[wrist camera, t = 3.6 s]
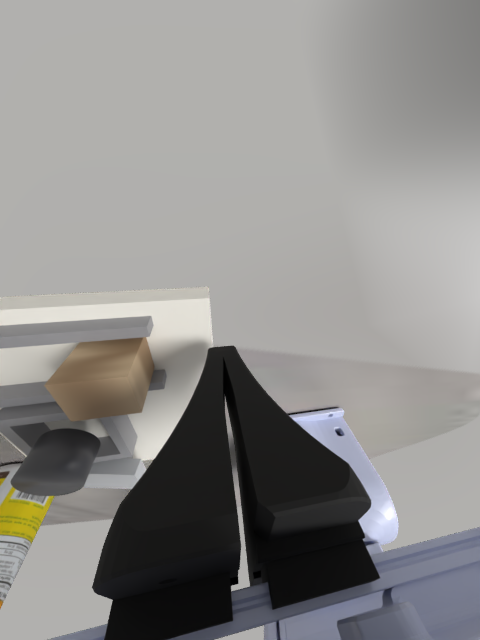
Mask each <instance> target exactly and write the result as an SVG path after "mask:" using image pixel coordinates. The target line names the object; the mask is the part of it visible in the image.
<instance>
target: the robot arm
mask: <svg viewBox="0 0 480 640" xmlns="http://www.w3.org/2000/svg"><path fill="white" fill-rule="evenodd" d="M225 397H226V402H227V407H228V412H229V417H230V422H231V427H232V432H233V438H234V444H235V452H236V461H237V470H238V479H239V487H240V497H241V506H242V514H243V524H244V534H245V542H246V543H245V544H246V553H247V563H248V572H249V581H250V587H247V588H243V589H240V590H236V591H232V592H231V585H235V584H238V570H239V567H240V552H241V542H240V533H239V524H238V515H237V506H236V499H235V491H234V483H233V475H232V467H231V459H230V451H229V443H228V435H227V426H226V417H225ZM343 415H344V411H343V409H342V408H336V409H329V410H322V411H315V412H308V413H301V414H294V415H288V414H287V413H285V412H284V411H283V410H282V409H281V408H280V407H279V406H278V405H277V404H276V402H275V401H274V400H273V399H272V398H271V397H270V396H269V395H268V394H267V393H266V391H265V390H264V389H263V388H262V387H261V385H260V384H259V383H258V382H257V380H256V379H255V378H254V377H253V375H252V374H251V372H250V371H249V369H248V368H247V367H246V365H245V364H244V362H243V360H242V359H241V357H240V355H239V354H238V352H237V350H236V347H234V346H224V347H213V348H209V349H208V352H207V358H206V362H205V365H204V368H203V371H202V374H201V377H200V379H199V382H198V384H197V386H196V389H195V391H194V393H193V396H192V398H191V400H190V402H189V404H188V406H187V408H186V409H185V411H184V413H183V415H182V417H181V418H180V420H179V422H178V424H177V425H176V427H175V429H174V430H173V432H172V433H171V435H170V437H169V438H168V440H167V441H166V443H165V444H164V446H163V447H162V449H161V450H160V451H159V453H158V454H157V456H156V457H155V459H154V460H153V462H152V463H151V465H150V466H149V467H148V469H147V470H146V471H145V473H144V474H143V475H142V477H141V478H140V479H139V480H138V482H137V483H136V484H135V486H134V487H133V488H132V490H131V491H130V492H129V493H128V495H127V496H126V497H125V499H124V500H123V501H122V503H121V504H120V506H119V508H118V510H117V512H116V515H115V517H114V519H113V522H112V524H111V527H110V529H109V532H108V535H107V537H106V540H105V543H104V546H103V549H102V553H101V557H100V560H99V564H98V568H97V572H96V575H95V579H94V583H93V586H92V588H93V590H94V592H95V593H97V594H98V595H101V596H104V597H107V598H110V599H112V600H113V602H112V606H111V611H110V615H109V620H108V624H105V625H101V626H98V627H94V628H90V629H86V630H82V631H78V632H74V633H71V634H67V635H63V636H59V637H55V638H51V639H48V640H214V639H218V638H221V637H225V636H228V635H232V634H235V633H239V632H242V631H245V630H249V629H252V628H256V627H259V626H262V625H264V640H480V527H477V528H474V529H470V530H466V531H462V532H458V533H454V534H451V535H447V536H443V537H440V538H435V539H431V540H428V541H424V542H420V543H416V544H412V545H408V546H405V547H401V548H397V549H393V550H389V551H385V552H384V551H383V550H382V548H381V546H380V545H384V544H387V543H390V542H392V541H393V540H394V539H395V538H396V537H397V534H398V518H397V515H396V511H395V508H394V505H393V502H392V499H391V497H390V495H389V493H388V490H387V489H386V486H385V485H384V483H383V481H382V479H381V478H380V476H379V475H378V473H377V471H376V470H375V468H374V467H373V465H372V464H371V462H370V460H369V459H368V457H367V455H366V454H365V452H364V451H363V449H362V447H361V446H360V444H359V443H358V441H357V439H356V438H355V436H354V435H353V433H352V431H351V430H350V428H349V427H348V425H347V423H346V422H345V420H344V419H343Z"/></svg>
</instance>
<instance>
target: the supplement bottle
mask: <svg viewBox="0 0 480 640" xmlns="http://www.w3.org/2000/svg"><path fill="white" fill-rule="evenodd" d="M21 464H22V463H18V464H10V465H5V466H1V467H0V608H1V606H2V604H3V601H4V600H5V598H6V595H7V593H8V591H9V589H10V587H11V585H12V583H13V581H14V579H15V577H16V575H17V573H18V571H19V569H20V567H21V565H22V562H23V560H24V558H25V556H26V554H27V552H28V550H29V548H30V546H31V544H32V542H33V539H34V537H35V535H36V533H37V531H38V529H39V527H40V525H41V523H42V521H43V519H44V517H45V515H46V513H47V511H48V509H49V507H50V504H51V502H52V500H53V498H54V496H37V495H31V494H26V493H23V492H20V491H18V490H16V489H15V488H14V487H13V486H12V485H11V479H12V478H13V476H14V475H15V473H16V472H17V470H18V469H19V467H20V466H21Z"/></svg>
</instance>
